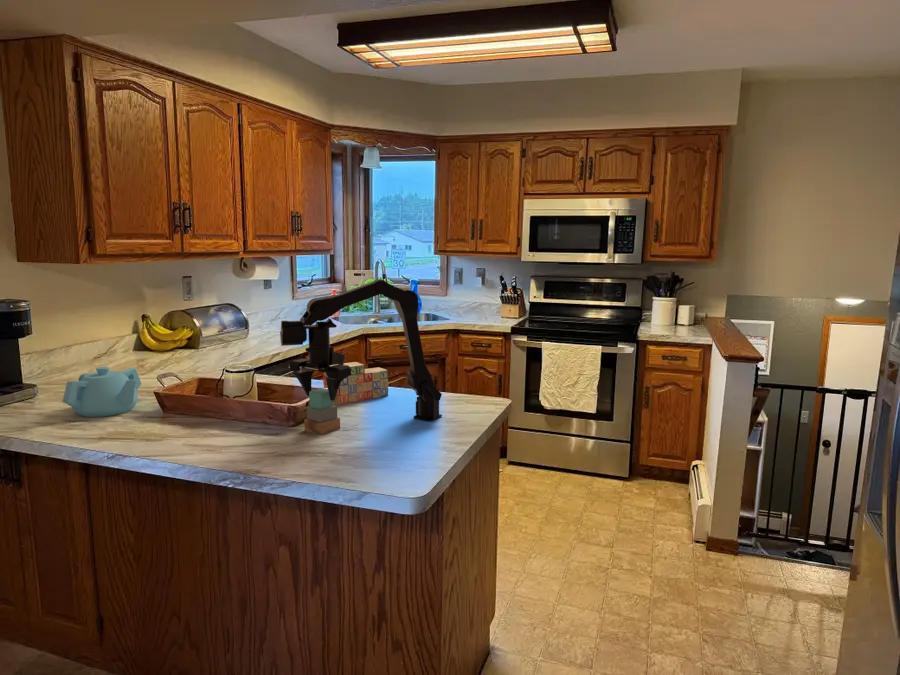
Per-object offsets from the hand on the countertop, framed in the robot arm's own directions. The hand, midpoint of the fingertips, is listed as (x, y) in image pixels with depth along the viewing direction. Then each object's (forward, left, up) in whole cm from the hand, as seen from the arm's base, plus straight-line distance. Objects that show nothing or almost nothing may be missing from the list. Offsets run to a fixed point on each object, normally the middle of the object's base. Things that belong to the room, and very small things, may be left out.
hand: (320, 398), depth 165 cm
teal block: (0, 0, -2) cm, 2 cm away
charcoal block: (0, 0, -6) cm, 6 cm away
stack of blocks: (+14, -31, -9) cm, 35 cm away
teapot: (+68, +24, -9) cm, 73 cm away
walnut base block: (-1, 0, -9) cm, 9 cm away
